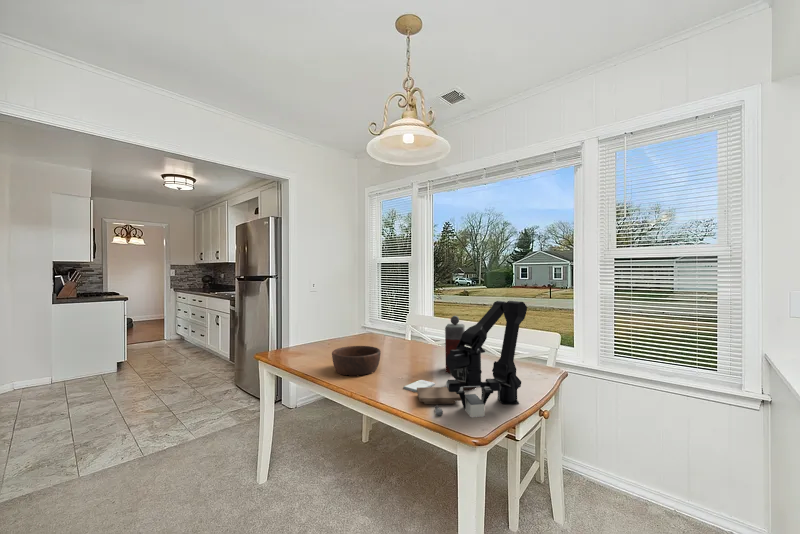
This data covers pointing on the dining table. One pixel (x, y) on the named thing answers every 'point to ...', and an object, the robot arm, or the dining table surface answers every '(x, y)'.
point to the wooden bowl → (356, 360)
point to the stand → (437, 395)
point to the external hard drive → (418, 385)
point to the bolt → (438, 411)
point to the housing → (474, 405)
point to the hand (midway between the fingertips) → (473, 408)
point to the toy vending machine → (452, 336)
